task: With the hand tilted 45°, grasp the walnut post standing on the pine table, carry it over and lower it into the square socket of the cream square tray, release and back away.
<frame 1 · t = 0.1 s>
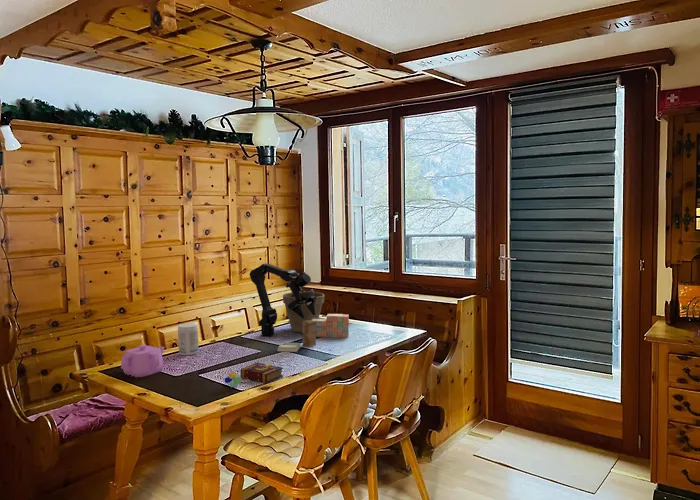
hand: (309, 316, 293), 15 cm above the table, tool tilted 30°, fingers open, 9 cm apart
walnut post: (309, 345, 291), on the table
cream square tray: (289, 348, 283), on the table
dice: (233, 386, 225), on the table
supplement tub: (188, 353, 275), on the table
teakettle: (143, 372, 245), on the table
plant pot: (303, 329, 327), on the table
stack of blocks: (330, 336, 312), on the table
decorative book: (260, 378, 237), on the table
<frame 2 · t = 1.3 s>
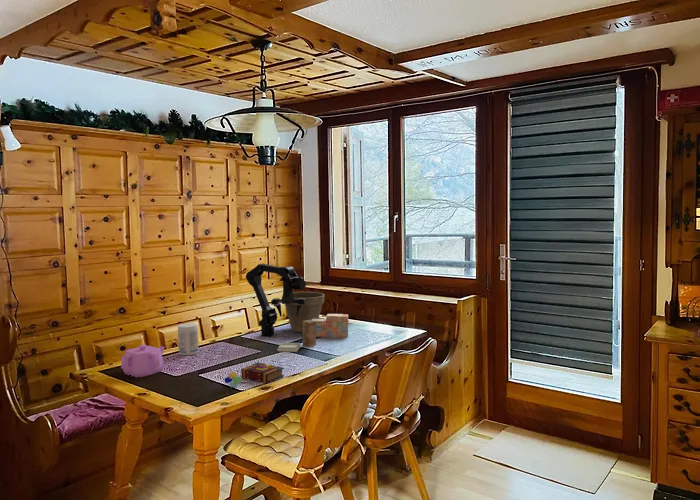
hand: (289, 316, 303), 13 cm above the table, tool pointing down, fingers open, 9 cm apart
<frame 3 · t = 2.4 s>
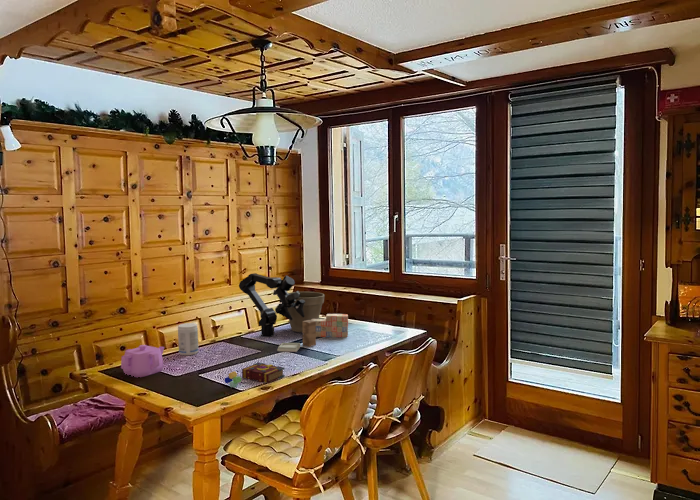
hand: (298, 318, 295), 13 cm above the table, tool tilted 45°, fingers open, 9 cm apart
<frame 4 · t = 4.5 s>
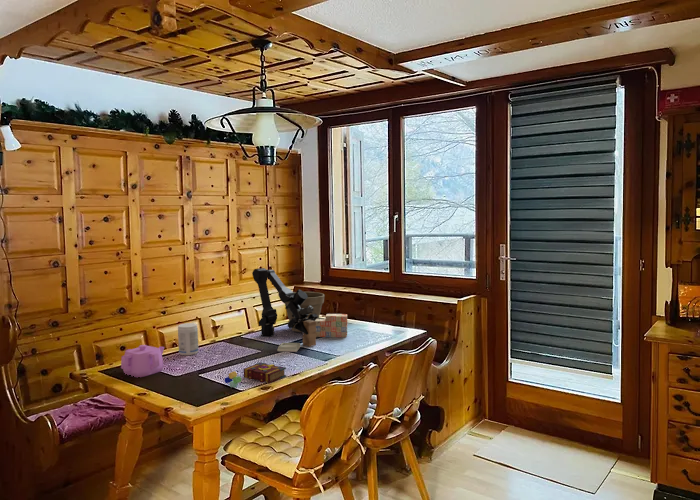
hand: (311, 333, 289), 7 cm above the table, tool tilted 45°, fingers closed on walnut post, 5 cm apart
walnut post: (309, 344, 291), on the table, touching gripper
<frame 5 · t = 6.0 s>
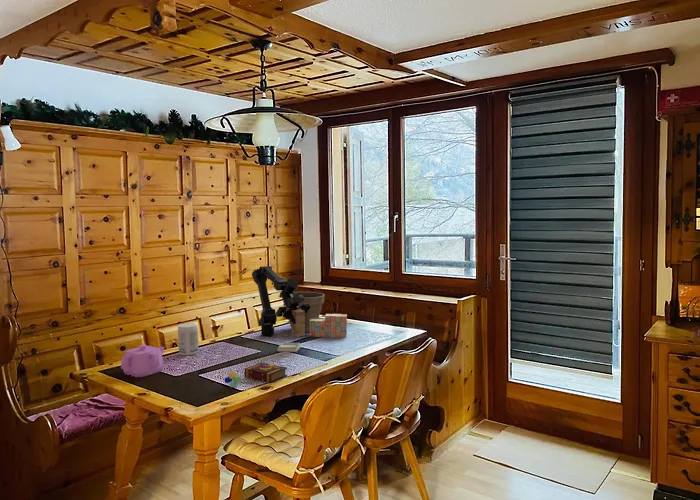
hand: (299, 323, 284), 13 cm above the table, tool tilted 45°, fingers closed on walnut post, 5 cm apart
walnut post: (298, 335, 285), point 7 cm above the table, touching gripper
when the fingers open (8 cm above the table, at t = 7.7 s): walnut post stays where it is, resting on cream square tray.
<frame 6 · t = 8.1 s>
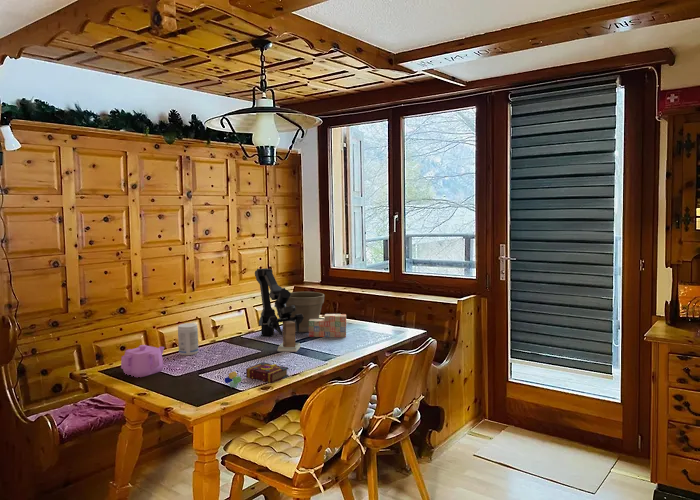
hand: (290, 333, 281), 8 cm above the table, tool tilted 45°, fingers open, 9 cm apart
walnut post: (289, 346, 283), point 1 cm above the table, touching cream square tray
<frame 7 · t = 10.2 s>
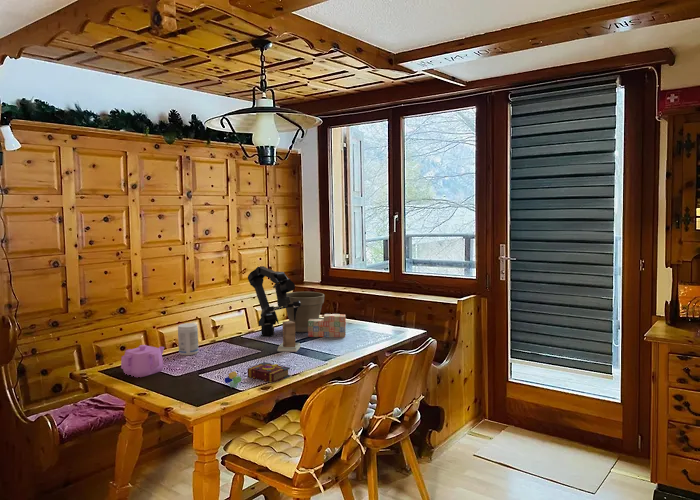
hand: (286, 322, 296), 11 cm above the table, tool tilted 20°, fingers open, 9 cm apart
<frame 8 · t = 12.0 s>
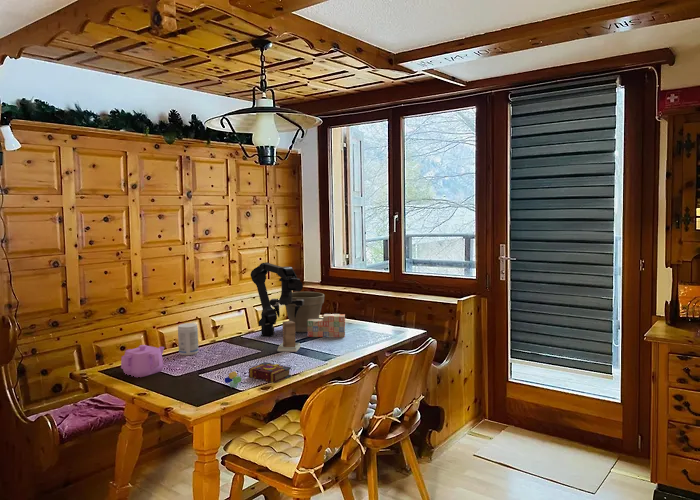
hand: (287, 317, 299), 13 cm above the table, tool pointing down, fingers open, 9 cm apart
at the end: walnut post 0.0 cm off-centre on the cream square tray, point 1.2 cm above the cream square tray's base; walnut post tilted 0°; the gripper is holding nothing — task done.
